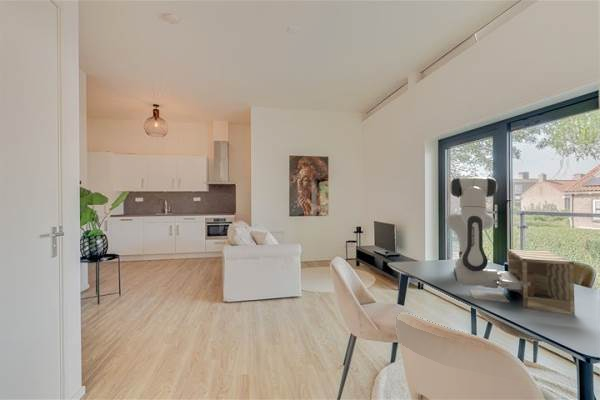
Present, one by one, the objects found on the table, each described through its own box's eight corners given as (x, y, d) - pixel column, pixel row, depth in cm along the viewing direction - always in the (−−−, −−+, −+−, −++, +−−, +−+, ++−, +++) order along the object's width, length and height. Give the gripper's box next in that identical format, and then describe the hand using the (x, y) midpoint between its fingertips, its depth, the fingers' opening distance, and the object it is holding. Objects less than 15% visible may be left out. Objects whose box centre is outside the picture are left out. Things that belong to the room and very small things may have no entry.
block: (517, 291, 132) (517, 270, 132) (530, 292, 130) (530, 271, 130) (520, 294, 127) (520, 272, 127) (534, 295, 125) (534, 273, 125)
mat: (469, 289, 144) (469, 289, 144) (502, 293, 138) (502, 292, 138) (473, 298, 132) (473, 297, 132) (509, 302, 126) (509, 301, 126)
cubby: (509, 290, 142) (507, 249, 142) (549, 294, 135) (548, 251, 135) (524, 308, 118) (523, 258, 118) (574, 314, 111) (573, 261, 111)
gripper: (496, 277, 125) (535, 280, 119) (488, 267, 143) (521, 270, 137) (497, 291, 125) (535, 295, 119) (488, 279, 143) (521, 282, 137)
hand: (528, 281), depth 128 cm, fingers closed on block, 5 cm apart
